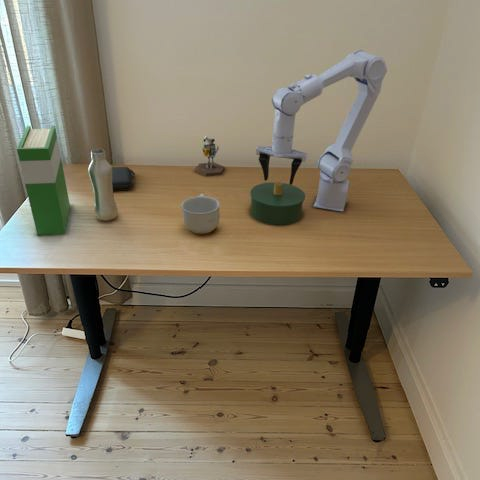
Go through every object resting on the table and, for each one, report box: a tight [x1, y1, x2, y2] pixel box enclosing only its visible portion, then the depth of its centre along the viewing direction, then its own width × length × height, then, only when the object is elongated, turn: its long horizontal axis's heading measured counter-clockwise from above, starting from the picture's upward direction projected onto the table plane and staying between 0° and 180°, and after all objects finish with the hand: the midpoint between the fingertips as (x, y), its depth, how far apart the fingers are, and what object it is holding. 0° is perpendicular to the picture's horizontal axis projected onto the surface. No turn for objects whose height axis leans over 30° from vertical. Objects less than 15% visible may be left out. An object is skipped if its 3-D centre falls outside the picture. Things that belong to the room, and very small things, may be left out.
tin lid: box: [249, 181, 306, 208], centre depth 150 cm, size 17×17×4 cm
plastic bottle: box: [87, 148, 118, 221], centre depth 141 cm, size 6×7×20 cm
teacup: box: [180, 193, 221, 235], centre depth 143 cm, size 14×11×8 cm
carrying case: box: [111, 166, 136, 191], centre depth 166 cm, size 11×3×15 cm
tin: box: [250, 196, 304, 226], centre depth 152 cm, size 16×16×6 cm
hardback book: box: [16, 124, 71, 236], centre depth 137 cm, size 18×7×24 cm, turn 11°
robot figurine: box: [195, 135, 225, 177], centre depth 174 cm, size 11×9×12 cm
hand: (278, 181), depth 147 cm, fingers open, 7 cm apart
